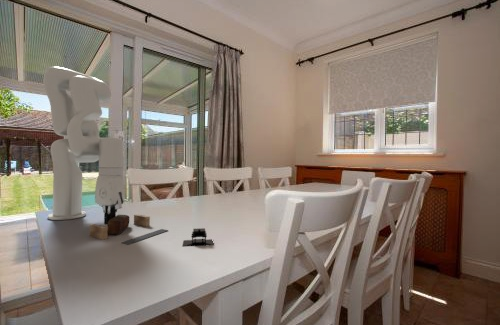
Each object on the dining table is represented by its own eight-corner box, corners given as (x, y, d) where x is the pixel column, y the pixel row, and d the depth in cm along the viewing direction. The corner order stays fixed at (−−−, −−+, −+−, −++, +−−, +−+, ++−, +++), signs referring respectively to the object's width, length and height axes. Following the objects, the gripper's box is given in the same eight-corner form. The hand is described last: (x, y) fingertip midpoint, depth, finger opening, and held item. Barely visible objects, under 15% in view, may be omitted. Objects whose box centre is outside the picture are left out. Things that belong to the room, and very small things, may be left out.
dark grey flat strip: (121, 242, 74) (121, 242, 74) (161, 229, 88) (161, 228, 88) (128, 244, 72) (128, 244, 72) (168, 230, 87) (168, 230, 87)
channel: (89, 236, 79) (89, 225, 79) (137, 223, 95) (137, 214, 95) (102, 239, 76) (102, 228, 76) (149, 225, 92) (149, 216, 92)
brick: (119, 235, 80) (120, 221, 80) (106, 235, 80) (107, 220, 80) (129, 226, 91) (130, 213, 91) (117, 226, 90) (118, 213, 90)
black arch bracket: (176, 249, 71) (177, 233, 71) (178, 241, 79) (179, 226, 79) (219, 247, 74) (220, 232, 74) (218, 239, 81) (218, 226, 81)
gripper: (87, 171, 88) (86, 223, 88) (115, 174, 81) (113, 229, 81) (107, 171, 94) (106, 218, 95) (134, 173, 88) (133, 224, 88)
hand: (109, 223), depth 88 cm, fingers closed
